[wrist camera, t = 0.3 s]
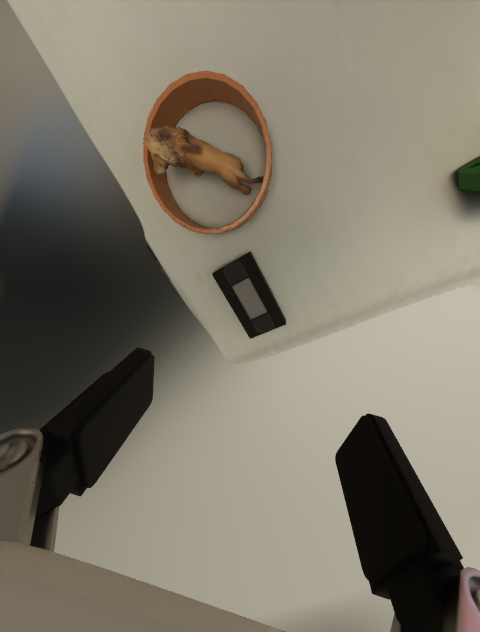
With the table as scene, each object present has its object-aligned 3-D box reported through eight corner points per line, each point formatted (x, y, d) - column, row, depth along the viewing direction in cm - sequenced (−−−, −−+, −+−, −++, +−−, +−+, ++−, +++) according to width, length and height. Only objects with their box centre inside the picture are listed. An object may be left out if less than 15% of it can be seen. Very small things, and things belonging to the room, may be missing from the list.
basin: (164, 84, 28) (143, 58, 24) (287, 109, 27) (289, 87, 23) (159, 219, 36) (142, 218, 31) (255, 242, 35) (252, 245, 30)
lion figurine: (172, 180, 33) (138, 167, 25) (173, 139, 31) (136, 109, 23) (261, 198, 32) (256, 190, 24) (270, 157, 30) (267, 132, 22)
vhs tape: (251, 333, 42) (250, 338, 40) (214, 271, 38) (211, 273, 36) (285, 319, 40) (286, 324, 38) (250, 251, 36) (249, 252, 34)
